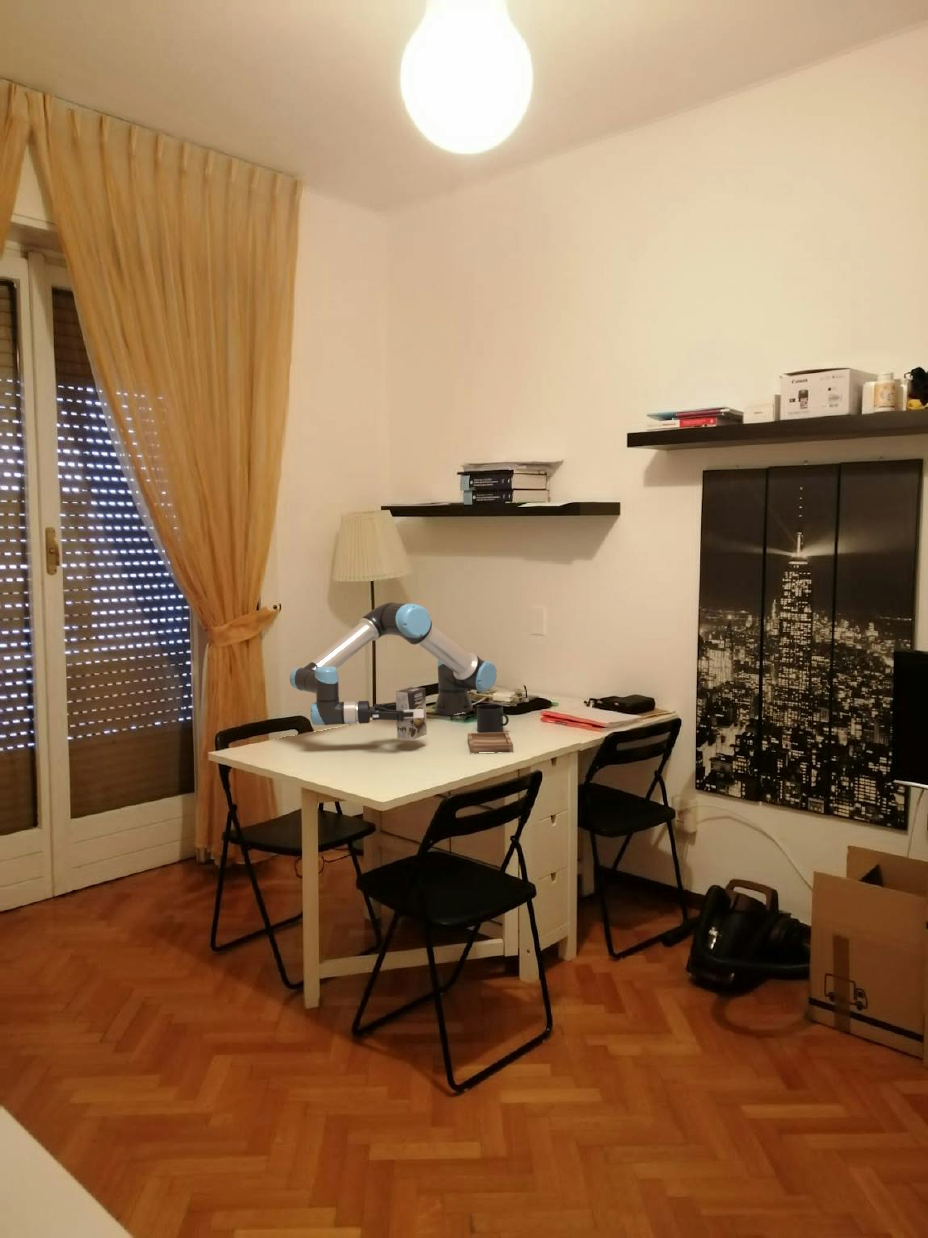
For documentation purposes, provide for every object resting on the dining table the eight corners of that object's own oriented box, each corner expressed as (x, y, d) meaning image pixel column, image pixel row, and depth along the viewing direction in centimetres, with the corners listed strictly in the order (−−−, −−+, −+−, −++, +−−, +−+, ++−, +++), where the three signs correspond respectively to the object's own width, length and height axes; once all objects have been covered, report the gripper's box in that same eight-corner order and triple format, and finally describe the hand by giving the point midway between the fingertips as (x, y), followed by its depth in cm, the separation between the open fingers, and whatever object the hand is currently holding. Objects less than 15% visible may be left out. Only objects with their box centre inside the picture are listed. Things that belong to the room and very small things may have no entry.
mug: (503, 736, 321) (502, 710, 320) (472, 733, 326) (472, 708, 325) (513, 730, 329) (513, 705, 328) (484, 727, 335) (483, 703, 334)
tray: (467, 740, 315) (467, 733, 315) (507, 739, 316) (507, 731, 316) (470, 754, 297) (470, 746, 297) (513, 752, 298) (513, 744, 298)
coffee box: (412, 740, 300) (410, 692, 298) (396, 738, 304) (394, 691, 302) (427, 734, 308) (426, 687, 306) (412, 732, 311) (410, 686, 310)
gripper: (360, 715, 316) (423, 713, 317) (355, 731, 293) (424, 728, 294) (359, 694, 315) (422, 691, 316) (354, 709, 292) (423, 706, 293)
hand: (423, 709), depth 305 cm, fingers closed on coffee box, 10 cm apart
